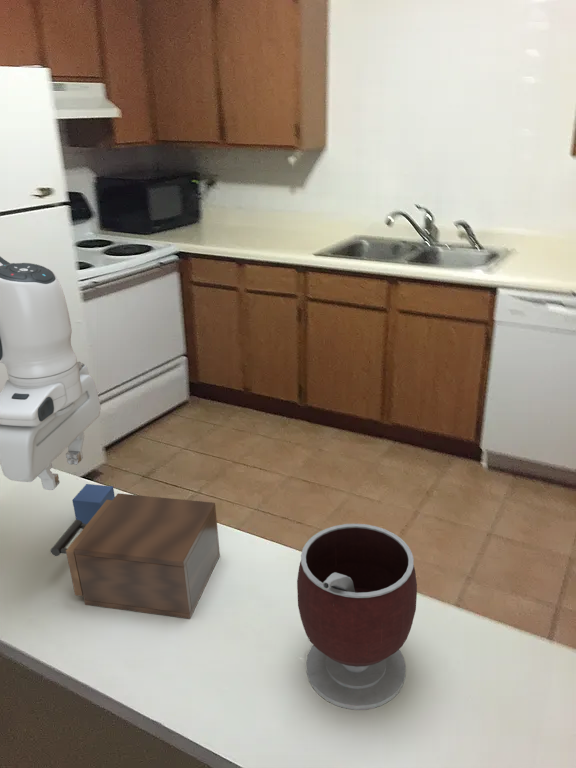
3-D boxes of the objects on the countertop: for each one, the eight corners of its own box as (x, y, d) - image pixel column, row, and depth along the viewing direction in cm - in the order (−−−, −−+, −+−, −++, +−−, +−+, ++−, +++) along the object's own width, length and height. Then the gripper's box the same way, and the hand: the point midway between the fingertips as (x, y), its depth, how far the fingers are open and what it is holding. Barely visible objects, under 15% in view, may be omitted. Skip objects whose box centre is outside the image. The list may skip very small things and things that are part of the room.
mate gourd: (327, 614, 92) (326, 490, 84) (426, 647, 86) (435, 518, 78) (274, 699, 79) (266, 564, 71) (385, 745, 73) (390, 603, 65)
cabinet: (84, 604, 95) (73, 548, 91) (126, 544, 107) (117, 493, 103) (190, 618, 92) (183, 561, 88) (220, 555, 104) (215, 502, 100)
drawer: (46, 591, 96) (36, 547, 93) (87, 538, 108) (79, 496, 104) (171, 607, 93) (164, 562, 89) (200, 550, 104) (196, 508, 100)
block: (76, 524, 113) (72, 499, 111) (90, 507, 117) (86, 483, 115) (104, 527, 112) (99, 502, 110) (117, 510, 116) (113, 486, 114)
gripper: (64, 355, 99) (79, 437, 105) (-21, 418, 81) (2, 513, 87) (103, 357, 98) (116, 440, 104) (25, 421, 80) (46, 517, 85)
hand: (64, 474), depth 95 cm, fingers open, 5 cm apart
